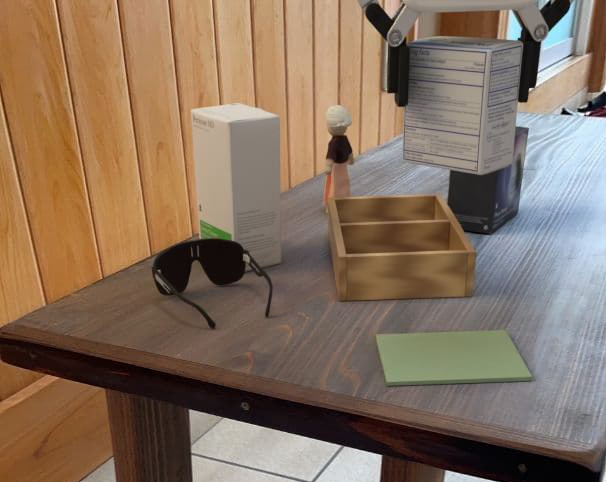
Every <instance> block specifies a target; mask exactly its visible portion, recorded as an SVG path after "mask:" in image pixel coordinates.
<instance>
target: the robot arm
mask: <svg viewBox="0 0 606 482" xmlns="http://www.w3.org/2000/svg"><path fill="white" fill-rule="evenodd" d="M356 1H357V3H358V5H359V6H360V8H361V11H362V13H363V15H364V17H365V18H366V20H368V22H369V23H370V24H371V25H372V27H373V28H374V29H375V30H376V31H377V32H378V33H379V35H380V36H381V37H382V38H383V39H384V40H385V41H386V43H387V58H386V59H387V60H386V61H387V64H386V65H387V66H386V94H394V95H393V96H394V103H395V105H396V106H397V108H404V107H405V105H408V89H409V64H410V48H409V47H408V46H407V45H406V44H407V43H408V42H407V39H408V37H407V35H408V34H409V33H410V31H411V30H412V28H413V26H414V25H415V23H416V22H417V20H418V19H419V17H420V16H421V15H422V13H458V12H460V13H463V12H488V11H489V12H490V11H491V12H492V11H510V10H511V12H512V14H513V16H514V17H515V20H516V21H517V23H518V25H519V27H520V28H521V30H520V37H517V39H516V40H517V41H521V42H522V43H523V53H522V63H521V74H520V85H519V95H518V104H519V103H520V104H523V103H525V104H527V103H528V101H529V94H530V89H535V88H536V86H537V82H538V73H539V64H540V58H541V57H540V56H541V48H542V42H543V41H544V40H546V39H547V37H548V36H549V34H550V32H551V31H552V29H553V28H554V27H556V26H557V25H558V24H559V22H561V21H562V20H563V18H564V17H565V16H566V15H567V14H568V13H569V11H570V9H571V6H572V4H573V3H574V1H575V0H548V1H547V2H546V3H545V4H544V5H543V6H542V7H541V8H540V9H539V7H538V5H537V3H538V2H539V1H540V0H399V2H401V3H400V4H399V6H398V7H397V8H396V10H395V12H394V13H393V15H392V16H391V17H390V16H389V14H388V13H387V12H386V11H385V10H384V9H383V7H382V6H381V5H380V2H379V1H378V0H356Z"/></svg>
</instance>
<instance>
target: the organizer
mask: <svg viewBox="0 0 606 482" xmlns="http://www.w3.org/2000/svg"><path fill="white" fill-rule="evenodd" d="M327 208H328V214H327V237H328V244H329V249H330V250H329V251H330V255H331V260H332V266H333V273H334V279H335V285H336V292H337V297H338V302H346V301H349V302H350V301H380V300H406V299H407V300H410V299H435V298H436V299H437V298H438V299H439V298H462V297H463V298H464V297H466V298H469V297H470V298H471V297H473V296H474V286H475V285H474V284H475V273H476V263H477V253H478V252H477V251H476V248H475V247H474V246H473V244H472V242H471V241H470V239H469V237H468V236H467V234H466V231H465V230H463V229H462V227H461V226H460V224H459V223H458V221H457V219H456V218H455V216H454V214H453V213H452V211H451V209H450V208H449V206H448V204H447V200H445V198H444V196H443V194H442V193H424V194H423V193H422V194H398V195H395V194H394V195H365V196H364V195H363V196H350V197H335V198H334V197H333V198H328V205H327Z"/></svg>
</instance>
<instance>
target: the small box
mask: <svg viewBox="0 0 606 482" xmlns="http://www.w3.org/2000/svg"><path fill="white" fill-rule="evenodd" d="M529 131H530V128H529V127H527V126H517V125H516V128H515V139H514V151H513V161H512V164H510V165H509V166H508V167H505V168H502V169H499V170H496V171H494V172H491V173H488V174H484V175H477V174H471V173H465V172H459V171H454V170H449V175H448V189H447V199H446V203H447V204H448V206H449V208H450V209H451V211H452V213H453V214H454V216H455V218H456V219H457V221H458V223H459V224H460V226H461V227H462V229H463V231H466V232H467V231H468V232H474V233H480V234H481V233H482V234H487V235H489V234H493V232H495V231H496V230H497V229H499V228H500V227H501V226H503V225H505V224H506V223H508V221H510V220H511V219H512V218H513V217H515V216H517V215H519V208H520V200H521V193H522V185H523V177H524V168H525V160H526V153H527V145H528V139H529Z"/></svg>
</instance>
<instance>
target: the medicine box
mask: <svg viewBox="0 0 606 482" xmlns="http://www.w3.org/2000/svg"><path fill="white" fill-rule="evenodd" d="M517 40H518V39H506V38H505V39H503V38H490V37H488V38H487V37H471V36H449V35H444V36H443V35H437V36H430V37H423V38H418V39H415V40H412V41H410V42H406V45H407V46H408V47H409V48H410V64H409V89H408V105H405V107H403V110H402V111H403V113H402V116H403V117H402V144H401V145H402V151H401V153H402V154H401V161H402V162H403V163H407V164H413V165H419V166H423V167H424V166H425V167H431V168H438V169H443V170H449V171H450V170H454V171H459V172H465V173H471V174H477V175H484V174H488V173H491V172H494V171H496V170H499V169H502V168H505V167H508V166H509V165H510V164H512V161H513V151H514V139H515V128H516V126H517V116H518V106H519V105H518V104H519V102H518V95H519V85H520V74H521V63H522V53H523V43H522V42H521V41H517Z"/></svg>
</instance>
